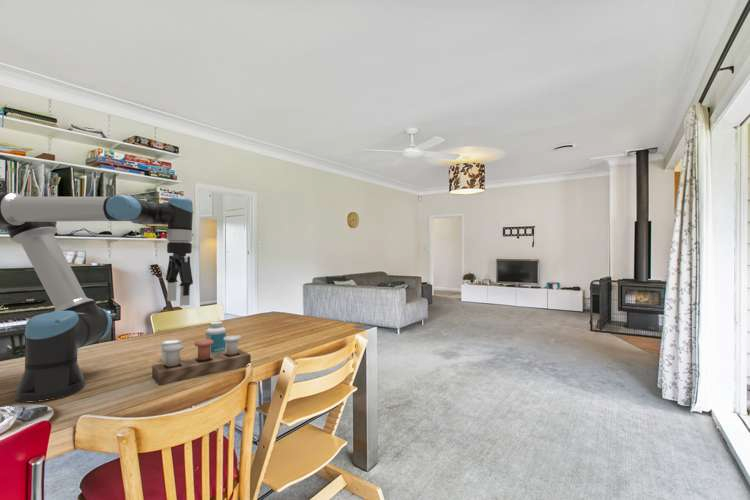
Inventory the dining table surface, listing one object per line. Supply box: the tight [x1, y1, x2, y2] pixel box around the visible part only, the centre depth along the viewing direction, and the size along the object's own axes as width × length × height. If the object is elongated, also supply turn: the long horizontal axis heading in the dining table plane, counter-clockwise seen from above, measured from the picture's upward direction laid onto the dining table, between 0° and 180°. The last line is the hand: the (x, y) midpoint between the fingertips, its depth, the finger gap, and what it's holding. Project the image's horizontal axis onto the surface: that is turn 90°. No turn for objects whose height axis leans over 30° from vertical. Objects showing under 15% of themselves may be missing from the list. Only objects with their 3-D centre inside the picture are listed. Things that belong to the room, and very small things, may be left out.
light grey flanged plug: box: [160, 339, 182, 362], centre depth 139 cm, size 7×7×7 cm
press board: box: [151, 348, 252, 386], centre depth 126 cm, size 30×10×4 cm, turn 133°
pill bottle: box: [205, 321, 227, 355], centre depth 145 cm, size 8×7×14 cm
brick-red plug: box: [194, 339, 213, 360], centre depth 126 cm, size 6×6×6 cm
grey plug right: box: [224, 334, 242, 355], centre depth 133 cm, size 6×6×6 cm
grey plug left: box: [163, 343, 184, 366], centre depth 119 cm, size 6×6×6 cm
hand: (177, 303), depth 123 cm, fingers open, 13 cm apart
